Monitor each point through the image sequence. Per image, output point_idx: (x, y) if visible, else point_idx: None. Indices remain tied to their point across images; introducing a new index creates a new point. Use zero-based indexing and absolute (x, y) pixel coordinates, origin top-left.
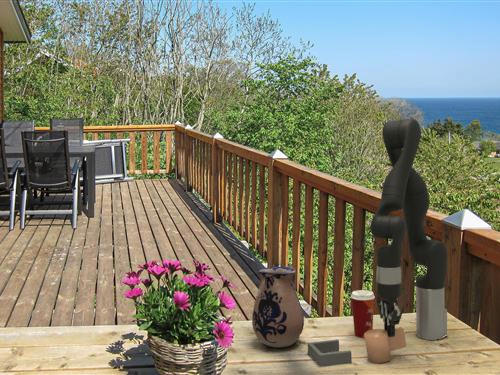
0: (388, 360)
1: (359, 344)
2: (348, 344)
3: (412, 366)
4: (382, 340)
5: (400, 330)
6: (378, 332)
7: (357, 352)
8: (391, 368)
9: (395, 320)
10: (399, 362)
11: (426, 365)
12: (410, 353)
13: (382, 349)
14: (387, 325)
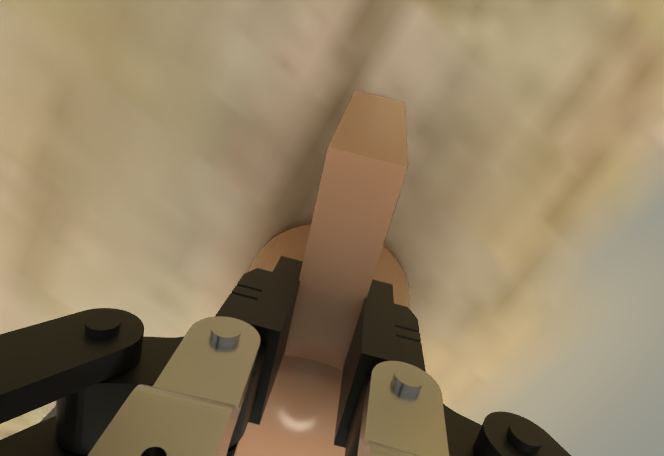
0: (408, 288)
1: (25, 225)
2: (2, 285)
3: (563, 187)
4: None
5: (393, 210)
6: (286, 437)
7: (154, 325)
8: (492, 326)
9: (443, 443)
10: (446, 215)
11: (625, 78)
12: (353, 7)
13: None
14: (341, 440)
